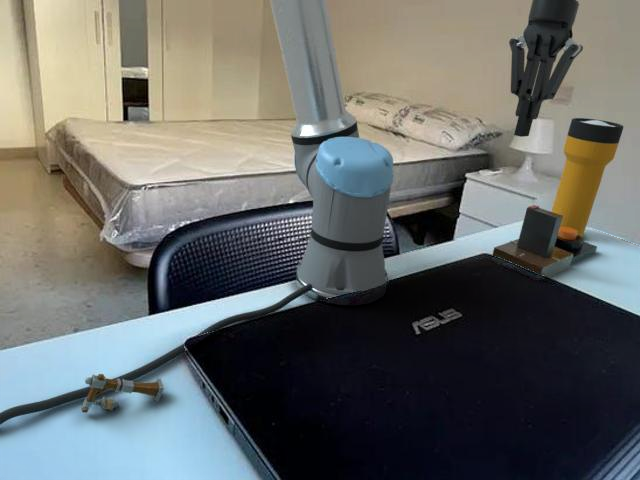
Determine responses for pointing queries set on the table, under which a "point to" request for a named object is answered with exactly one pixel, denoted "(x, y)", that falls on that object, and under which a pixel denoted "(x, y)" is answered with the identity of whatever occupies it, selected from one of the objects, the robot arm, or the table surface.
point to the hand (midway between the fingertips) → (521, 135)
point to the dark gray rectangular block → (539, 231)
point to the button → (567, 233)
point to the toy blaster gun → (123, 386)
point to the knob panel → (534, 258)
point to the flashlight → (584, 169)
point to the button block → (576, 248)
